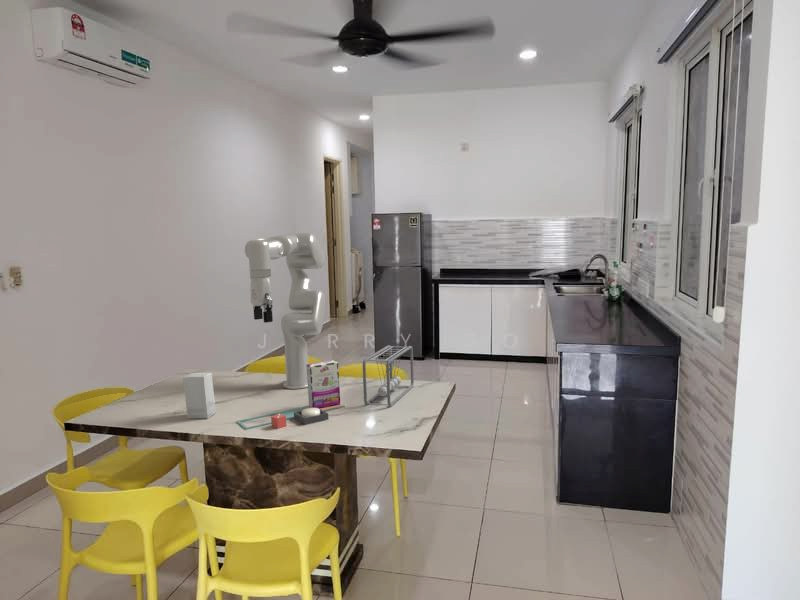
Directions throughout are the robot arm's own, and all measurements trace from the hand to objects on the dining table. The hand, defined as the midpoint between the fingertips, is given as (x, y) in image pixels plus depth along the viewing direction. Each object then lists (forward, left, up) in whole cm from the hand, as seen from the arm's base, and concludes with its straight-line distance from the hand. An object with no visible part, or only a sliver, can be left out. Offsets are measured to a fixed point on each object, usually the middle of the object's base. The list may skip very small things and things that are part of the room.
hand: (263, 320), depth 208 cm
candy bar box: (+13, +17, -33) cm, 39 cm away
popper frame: (+22, +7, -33) cm, 41 cm away
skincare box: (-7, -23, -34) cm, 41 cm away
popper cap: (+22, +7, -33) cm, 40 cm away
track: (+13, +5, -33) cm, 36 cm away
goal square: (+13, +17, -33) cm, 40 cm away
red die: (+22, -5, -33) cm, 40 cm away
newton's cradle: (+17, +44, -34) cm, 58 cm away
